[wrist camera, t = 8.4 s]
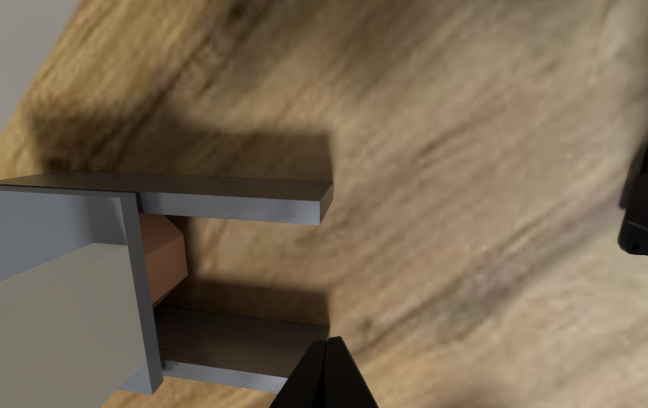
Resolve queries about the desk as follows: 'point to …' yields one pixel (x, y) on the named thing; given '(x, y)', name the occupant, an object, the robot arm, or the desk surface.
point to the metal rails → (202, 327)
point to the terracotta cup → (162, 254)
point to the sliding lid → (73, 299)
